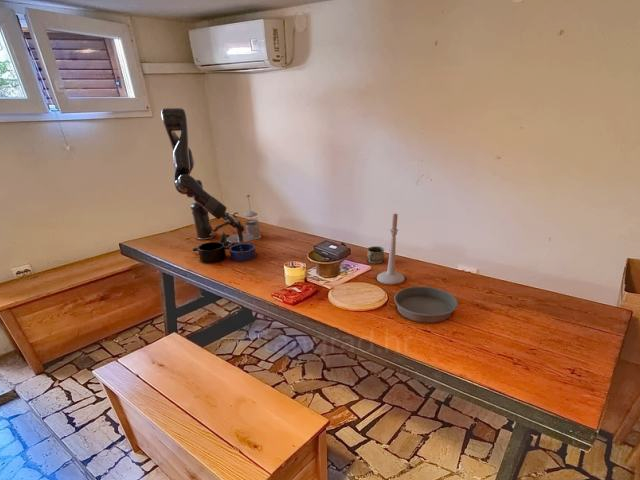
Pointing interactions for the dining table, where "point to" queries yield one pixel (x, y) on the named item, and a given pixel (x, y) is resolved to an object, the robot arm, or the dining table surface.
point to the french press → (252, 224)
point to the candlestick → (391, 260)
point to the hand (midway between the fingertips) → (243, 229)
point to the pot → (212, 252)
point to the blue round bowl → (242, 252)
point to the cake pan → (425, 304)
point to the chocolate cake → (224, 241)
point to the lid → (240, 237)
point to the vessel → (375, 254)
